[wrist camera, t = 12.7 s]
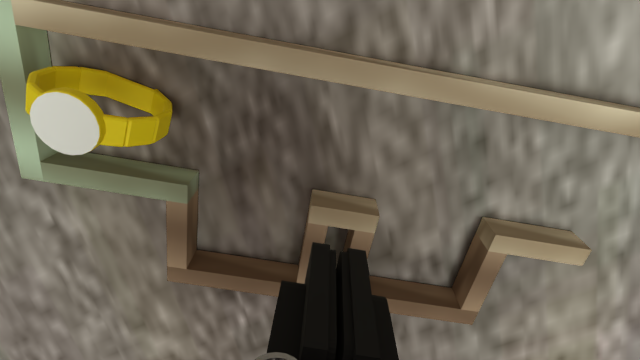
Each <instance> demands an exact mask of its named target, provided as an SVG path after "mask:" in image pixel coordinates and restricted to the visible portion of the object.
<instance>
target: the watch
mask: <svg viewBox="0 0 640 360" xmlns="http://www.w3.org/2000/svg"><path fill="white" fill-rule="evenodd" d="M86 94H88V95H96V96H105V97H108V98H111V99H113V100H116V101H119V102H121V103H124V104H127V105H129V106H132V107H135V108H138V109H140V110H143V111H146V112H148V113H151V114H152V115H153V116H149V117H130V118H126V117H120V116H113V115H106V114H104V113H103V111H102V110H101V108H100V107H99V106H98V104H97V103H96V102H95V101H94V100H93V99H91V98H90V97H89V96H88V95H86ZM25 110H26V112H27V113H28V114H29V115H30V119H31V124H32V126H33V128H34V131H35V133H36V134H37V135H38V136H39V138H40V139H41V140H42V141H43V142H44V143H45V144H47V145H48V146H49V147H51V148H52V149H54V150H56V151H58V152H61V153H63V154H68V155H82V154H85V153H87V152H90V151H92V150H93V149H95V148H96V147H98V146H99V145H106V146H116V147H123V146H125V147H132V146H140V145H148V144H152V143H155V142H157V141H158V140H160V139H161V138H163V137H165V136H166V135H167V134H168V130H169V126H170V121H171V117H172V103H171V101H170V100H169V99H168V98H166V97H165V96H164V95H163V94H162V93H161V92H160V91H158V89H155V90H154V89H152V88H149V87H146V86H144V85H141V84H139V83H136V82H133V81H131V80H128V79H125V78H123V77H120V76H118V75H115V74H112V73H110V72H107V71H104V70H97V69H91V68H85V67H77V66H52V67H47V68H43V69H40V70H37V71H33V72H31V73H30V74H29V76H28V80H27V83H26V107H25Z"/></svg>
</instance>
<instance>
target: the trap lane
mask: <svg viewBox="0 0 640 360" xmlns="http://www.w3.org/2000/svg"><path fill="white" fill-rule="evenodd" d="M47 31H52V32H58V33H64V34H69V35H75V36H80V37H86V38H91V39H97V40H102V41H108V42H113V43H119V44H124V45H130V46H136V47H141V48H147V49H152V50H158V51H163V52H169V53H174V54H180V55H185V56H191V57H196V58H202V59H208V60H213V61H219V62H224V63H230V64H235V65H241V66H246V67H252V68H257V69H263V70H268V71H274V72H279V73H285V74H291V75H296V76H302V77H307V78H313V79H318V80H324V81H329V82H335V83H340V84H346V85H351V86H357V87H363V88H368V89H374V90H379V91H385V92H390V93H396V94H401V95H407V96H412V97H418V98H423V99H429V100H435V101H440V102H446V103H451V104H457V105H462V106H468V107H473V108H479V109H484V110H490V111H495V112H501V113H507V114H512V115H518V116H523V117H529V118H534V119H540V120H545V121H551V122H556V123H562V124H567V125H573V126H579V127H584V128H590V129H595V130H601V131H606V132H612V133H617V134H623V135H628V136H634V137H639V138H640V108H638V107H632V106H627V105H622V104H616V103H611V102H605V101H600V100H595V99H589V98H584V97H578V96H573V95H568V94H562V93H557V92H552V91H546V90H541V89H535V88H530V87H525V86H519V85H514V84H508V83H503V82H498V81H492V80H487V79H482V78H476V77H471V76H465V75H460V74H455V73H449V72H444V71H438V70H433V69H428V68H422V67H417V66H412V65H406V64H401V63H395V62H390V61H385V60H379V59H374V58H368V57H363V56H358V55H352V54H347V53H342V52H336V51H331V50H325V49H320V48H315V47H309V46H304V45H298V44H293V43H288V42H282V41H277V40H272V39H266V38H261V37H255V36H250V35H245V34H239V33H234V32H228V31H223V30H218V29H212V28H207V27H202V26H196V25H191V24H185V23H180V22H175V21H169V20H164V19H158V18H153V17H148V16H142V15H137V14H132V13H126V12H121V11H115V10H110V9H105V8H99V7H94V6H89V5H83V4H78V3H72V2H67V1H62V0H0V78H1V83H2V88H3V93H4V98H5V102H6V107H7V112H8V117H9V121H10V126H11V131H12V136H13V140H14V145H15V150H16V155H17V159H18V164H19V169H20V174H21V178H25V179H31V180H38V181H44V182H50V183H57V184H63V185H70V186H76V187H82V188H89V189H95V190H101V191H108V192H114V193H121V194H127V195H133V196H140V197H146V198H152V199H159V200H165V201H166V223H167V281H172V282H179V283H186V284H193V285H200V286H207V287H213V288H220V289H227V290H234V291H241V292H248V293H255V294H262V295H269V296H276V297H278V295H279V290H280V285H281V281H282V280H283V281H290V282H296V283H302V284H304V283H305V278H306V273H307V268H308V262H309V257H310V252H311V247H312V243H313V242H316V243H322V244H324V242H325V238H326V233H327V229H328V226H331V227H337V228H344V229H348V233H347V237H346V241H345V245H344V249H343V252H346V251H347V249H348V248H352V249H358V250H364V251H366V256H367V258H368V255H369V251H370V248H371V244H372V241H373V237H374V234H375V231H376V227H377V224H378V220H379V217H380V216H379V212H378V208H377V204H376V200H375V199H370V198H364V197H358V196H351V195H345V194H339V193H333V192H327V191H321V190H314V189H312V194H311V200H310V205H309V211H308V216H307V221H306V227H305V232H304V237H303V243H302V248H301V254H300V259H299V264H298V265H295V264H289V263H282V262H275V261H269V260H262V259H255V258H249V257H242V256H235V255H229V254H222V253H215V252H208V251H202V250H197V221H198V187H199V171H197V170H191V169H185V168H179V167H173V166H167V165H161V164H154V163H148V162H142V161H136V160H130V159H124V158H117V157H111V156H105V155H99V154H93V153H85V154H82V155H68V154H63V153H61V152H58V151H56V150H54V149H52V148H51V147H49V146H48V145H47V144H45V143H44V142H43V141H42V140H41V139H40V138H39V136H38V135H37V134H36V133H35V131H34V128H33V126H32V124H31V119H30V115H29V114H28V113H27V112H26V110H25V107H26V83H27V80H28V76H29V74H30V73H31V72H33V71H37V70H40V69H43V68H47V67H52V64H51V57H50V50H49V44H48V37H47ZM591 251H592V250H591V249H590V248H589V247H588V246H587V245H586V244H585V243H584V242H583V241H581V240H580V239H579V238H578V237H577V236H576V235H575V234H574V233H573V232H572V231H567V230H561V229H554V228H548V227H542V226H536V225H530V224H524V223H518V222H511V221H505V220H499V219H493V218H487V217H482V220H481V222H480V224H479V226H478V229H477V231H476V233H475V236H474V238H473V240H472V243H471V245H470V247H469V249H468V252H467V254H466V256H465V259H464V261H463V263H462V265H461V268H460V270H459V272H458V275H457V277H456V279H455V282H454V284H453V286H452V288H449V287H442V286H436V285H429V284H422V283H416V282H409V281H402V280H396V279H389V278H382V277H375V276H369V278H370V285H371V292H372V295H377V296H383V297H386V299H387V302H388V307H389V312H390V313H394V314H401V315H408V316H415V317H422V318H429V319H436V320H443V321H450V322H456V323H463V324H470V325H472V324H473V322H474V320H475V318H476V316H477V314H478V312H479V310H480V308H481V306H482V304H483V302H484V300H485V298H486V296H487V294H488V292H489V290H490V288H491V286H492V284H493V282H494V280H495V278H496V276H497V274H498V272H499V270H500V268H501V266H502V264H503V262H504V260H505V258H506V256H507V254H509V255H516V256H522V257H529V258H535V259H541V260H548V261H554V262H560V263H567V264H573V265H580V266H582V265H583V264H584V262H585V260H586V259H587V257H588V256H589V254H590V252H591Z"/></svg>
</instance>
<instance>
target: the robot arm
mask: <svg viewBox="0 0 640 360" xmlns="http://www.w3.org/2000/svg"><path fill="white" fill-rule="evenodd" d="M255 360H399V358H398V353H397V348H396V343H395V337H394V332H393V327H392V322H391V317H390V312H389V307H388V302H387V299H386V297H383V296H377V295H372V292H371V285H370V278H369V271H368V263H367V256H366V251H364V250H358V249H352V248H348V249H347V251H346V252H342V251H341V252H340V255H339V259H338V263H337V268H336V250H330V245H328V244H322V243H316V242H313V243H312V247H311V252H310V257H309V262H308V268H307V273H306V278H305V283H304V284H302V283H296V282H290V281H283V280H282V281H281V285H280V290H279V295H278V300H277V305H276V310H275V315H274V320H273V325H272V330H271V335H270V339H269V344H268V349H267V353H266V354H264V355H261V356H259V357H257V358H256V359H255Z"/></svg>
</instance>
